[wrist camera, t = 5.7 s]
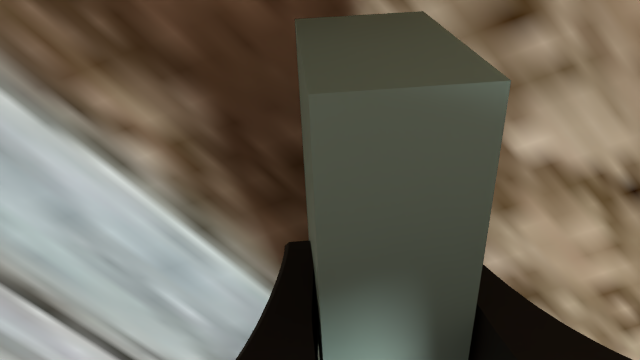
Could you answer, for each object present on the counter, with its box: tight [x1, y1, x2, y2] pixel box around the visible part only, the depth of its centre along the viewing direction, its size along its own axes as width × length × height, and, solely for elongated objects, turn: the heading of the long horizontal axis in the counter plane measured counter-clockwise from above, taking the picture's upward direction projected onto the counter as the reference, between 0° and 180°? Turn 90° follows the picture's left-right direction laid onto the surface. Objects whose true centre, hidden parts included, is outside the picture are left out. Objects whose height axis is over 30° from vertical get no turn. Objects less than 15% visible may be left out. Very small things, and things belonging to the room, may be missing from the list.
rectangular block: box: [295, 11, 511, 360], centre depth 13 cm, size 3×12×5 cm, turn 2°
